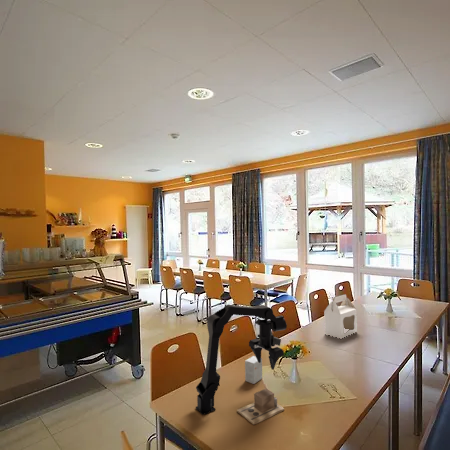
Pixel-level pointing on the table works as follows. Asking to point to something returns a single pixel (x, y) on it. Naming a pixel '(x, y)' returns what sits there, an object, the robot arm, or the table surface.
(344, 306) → the gable box
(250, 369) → the small box
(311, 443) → the table surface
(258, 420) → the guide board
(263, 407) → the upright wooden block
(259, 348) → the robot arm
